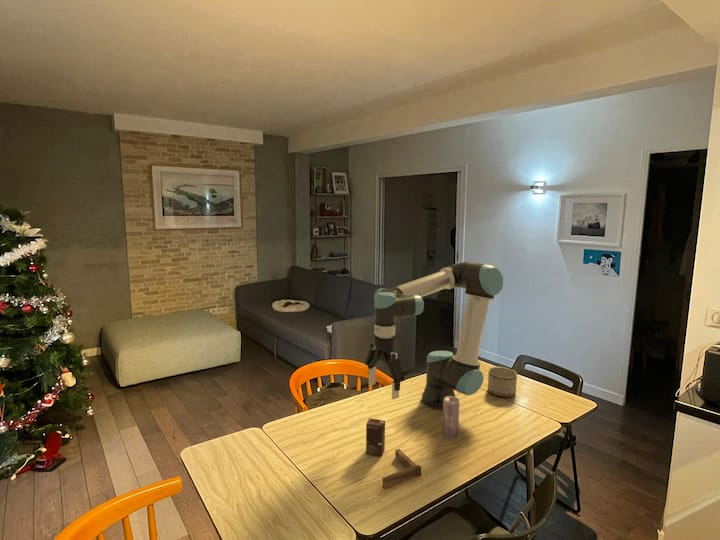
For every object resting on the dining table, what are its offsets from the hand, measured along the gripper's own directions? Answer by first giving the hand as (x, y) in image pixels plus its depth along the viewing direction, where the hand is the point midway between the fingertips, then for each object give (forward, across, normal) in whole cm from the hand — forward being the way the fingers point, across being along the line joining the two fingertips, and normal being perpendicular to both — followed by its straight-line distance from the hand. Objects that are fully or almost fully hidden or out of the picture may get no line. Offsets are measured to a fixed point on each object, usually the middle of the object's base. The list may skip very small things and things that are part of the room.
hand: (383, 391), depth 149 cm
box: (+20, +4, -6) cm, 22 cm away
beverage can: (+20, +12, +24) cm, 33 cm away
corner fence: (+20, +16, -8) cm, 27 cm away
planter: (+19, 0, +72) cm, 74 cm away
